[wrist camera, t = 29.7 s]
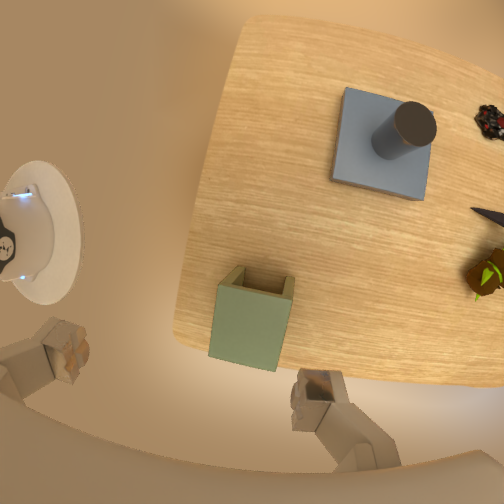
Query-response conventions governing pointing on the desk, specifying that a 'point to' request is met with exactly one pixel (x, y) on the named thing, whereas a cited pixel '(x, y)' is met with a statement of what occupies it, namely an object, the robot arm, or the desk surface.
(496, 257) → the goblin
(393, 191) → the low gray rectangular block
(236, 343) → the sage green stool
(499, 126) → the toy car
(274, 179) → the desk surface
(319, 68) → the desk surface
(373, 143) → the glossy brown cylinder
